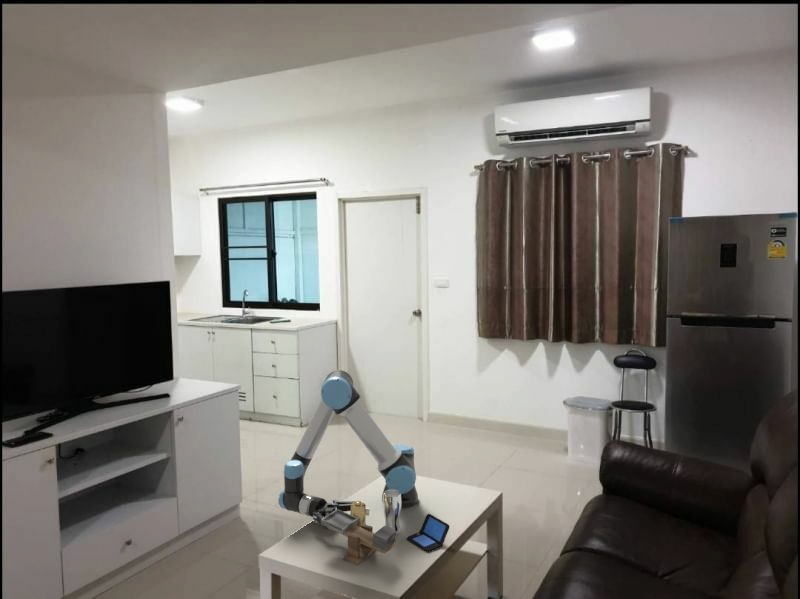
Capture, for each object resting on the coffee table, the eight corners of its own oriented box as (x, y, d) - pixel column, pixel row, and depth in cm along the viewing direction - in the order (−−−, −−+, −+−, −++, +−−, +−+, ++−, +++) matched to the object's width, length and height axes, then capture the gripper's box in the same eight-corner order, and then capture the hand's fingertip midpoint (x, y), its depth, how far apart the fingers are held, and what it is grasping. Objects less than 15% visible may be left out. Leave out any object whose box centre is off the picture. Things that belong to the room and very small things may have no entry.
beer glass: (403, 528, 228) (403, 490, 227) (397, 536, 221) (397, 497, 220) (386, 525, 230) (386, 487, 229) (380, 533, 224) (380, 495, 222)
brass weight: (356, 528, 228) (355, 497, 227) (368, 532, 225) (368, 501, 224) (347, 535, 223) (347, 503, 222) (360, 538, 220) (360, 506, 219)
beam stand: (362, 544, 216) (362, 521, 215) (376, 548, 213) (376, 525, 212) (343, 559, 205) (343, 536, 205) (357, 564, 202) (357, 540, 202)
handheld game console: (405, 540, 220) (405, 520, 219) (427, 531, 226) (427, 512, 225) (427, 554, 210) (427, 533, 209) (450, 544, 216) (450, 525, 216)
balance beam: (336, 517, 219) (337, 503, 218) (396, 544, 207) (398, 529, 206) (320, 528, 211) (321, 513, 210) (381, 556, 199) (383, 541, 198)
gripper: (332, 503, 245) (376, 515, 234) (292, 529, 223) (339, 543, 212) (332, 486, 244) (376, 497, 233) (292, 509, 222) (338, 523, 212)
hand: (359, 519), depth 223 cm, fingers open, 13 cm apart
